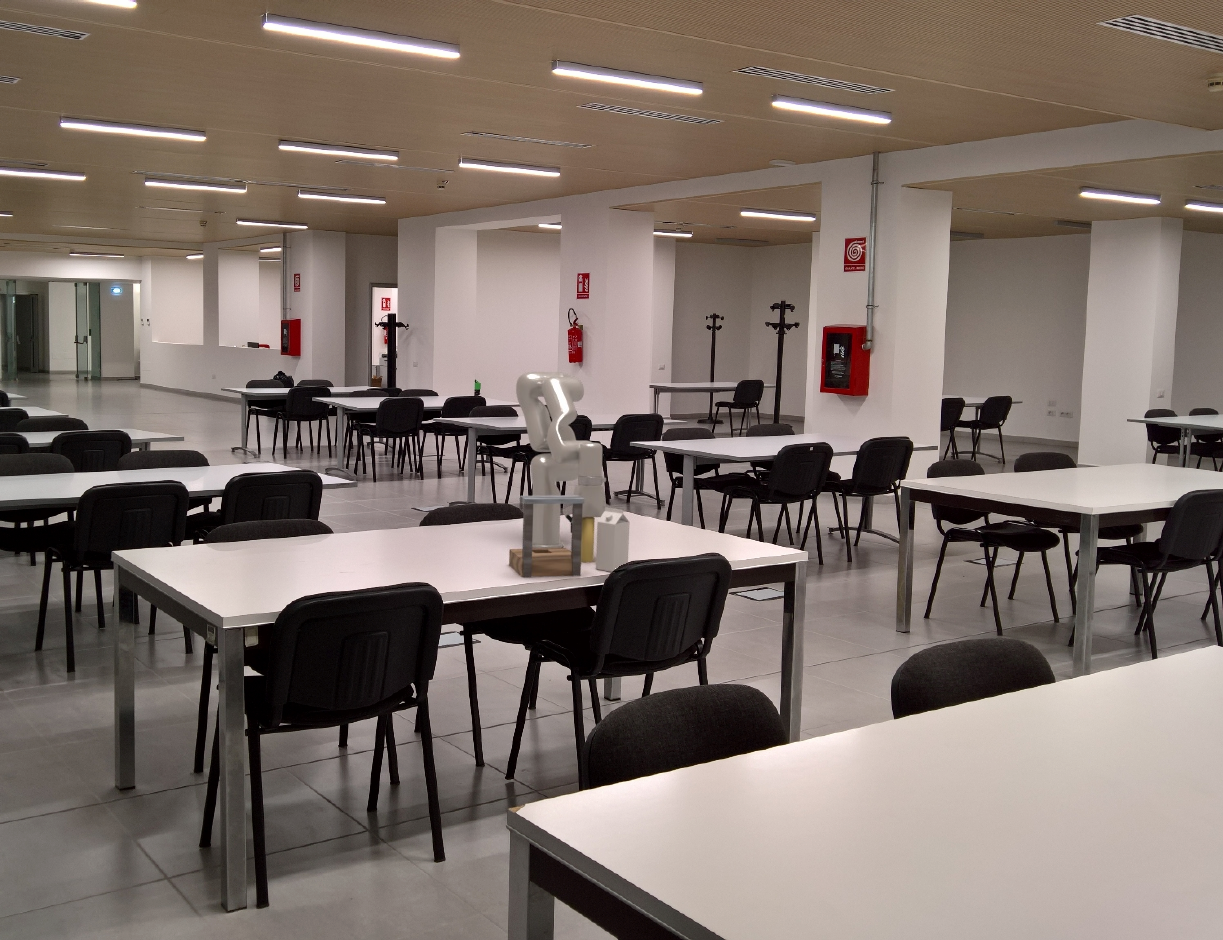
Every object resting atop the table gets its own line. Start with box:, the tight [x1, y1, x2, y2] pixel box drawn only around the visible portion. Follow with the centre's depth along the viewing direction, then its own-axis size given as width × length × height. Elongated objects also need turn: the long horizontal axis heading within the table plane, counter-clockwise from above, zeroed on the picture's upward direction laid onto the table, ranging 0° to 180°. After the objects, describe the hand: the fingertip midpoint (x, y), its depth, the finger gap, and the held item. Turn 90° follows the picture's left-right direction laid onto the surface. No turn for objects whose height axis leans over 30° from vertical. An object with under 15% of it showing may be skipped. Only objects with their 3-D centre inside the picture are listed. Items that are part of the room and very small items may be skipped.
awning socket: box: [508, 495, 585, 578], centre depth 340 cm, size 20×18×23 cm
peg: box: [581, 517, 596, 563], centre depth 358 cm, size 4×4×14 cm
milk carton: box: [595, 507, 630, 573], centre depth 346 cm, size 7×7×19 cm
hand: (588, 535), depth 357 cm, fingers open, 9 cm apart
